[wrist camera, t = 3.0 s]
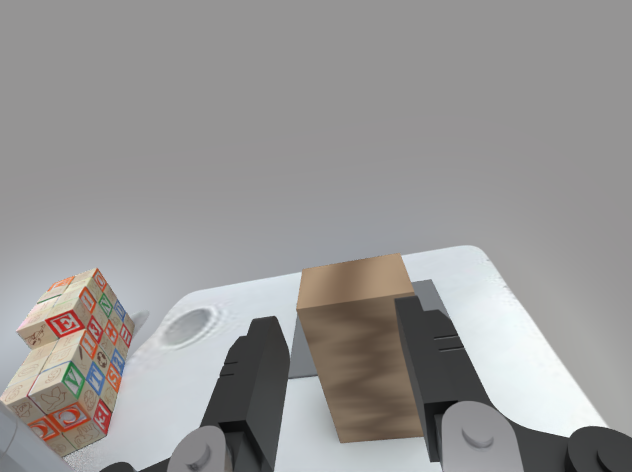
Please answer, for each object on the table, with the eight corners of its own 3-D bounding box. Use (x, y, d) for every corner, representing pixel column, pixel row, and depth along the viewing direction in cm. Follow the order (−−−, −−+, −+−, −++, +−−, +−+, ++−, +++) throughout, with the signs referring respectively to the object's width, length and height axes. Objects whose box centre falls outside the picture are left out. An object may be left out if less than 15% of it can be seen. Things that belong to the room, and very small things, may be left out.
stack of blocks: (109, 436, 35) (41, 361, 29) (46, 467, 33) (-37, 392, 28) (135, 324, 53) (97, 265, 48) (96, 340, 52) (52, 281, 46)
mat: (288, 378, 36) (287, 377, 36) (300, 301, 48) (299, 299, 48) (468, 358, 33) (468, 356, 33) (431, 280, 45) (431, 279, 45)
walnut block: (340, 443, 28) (296, 309, 21) (339, 393, 33) (302, 269, 26) (430, 435, 27) (414, 291, 20) (416, 385, 32) (399, 252, 25)
